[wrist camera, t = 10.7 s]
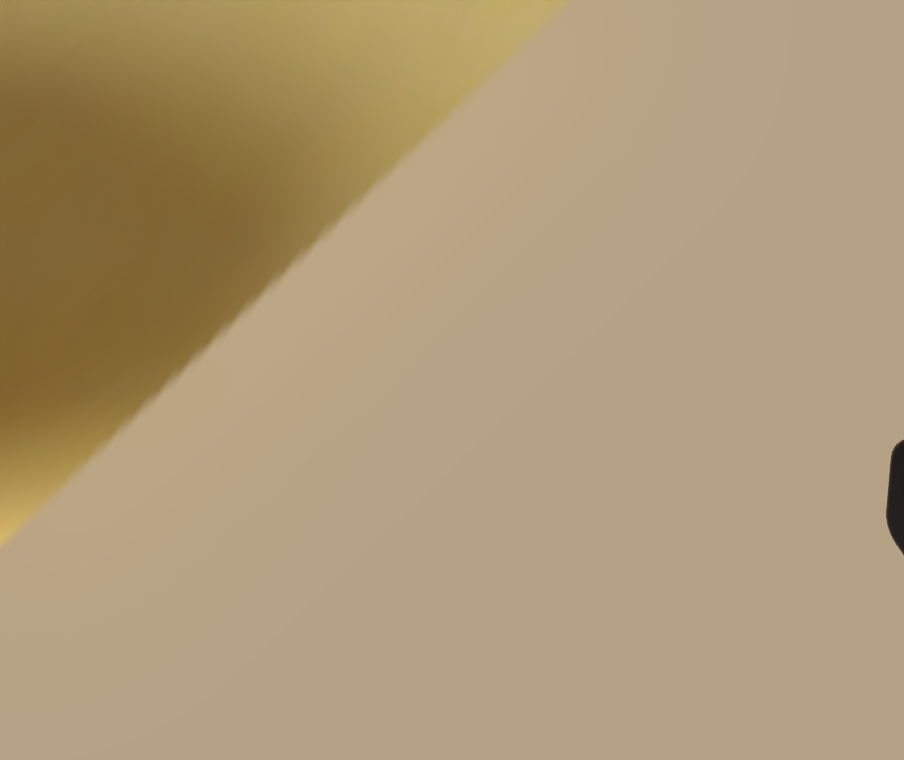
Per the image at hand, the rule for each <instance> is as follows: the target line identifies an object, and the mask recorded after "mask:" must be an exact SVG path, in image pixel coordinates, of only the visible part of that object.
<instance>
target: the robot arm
mask: <svg viewBox="0 0 904 760" xmlns="http://www.w3.org/2000/svg"><path fill="white" fill-rule="evenodd" d="M886 518H887V524H888V528H889V531H890V533H891V536H892V538H893V539H894V541H895V543H896V545H897V546H898V547H899V549H900V550H901V552H902V553H903V555H904V440H902V441H901V442H899V443H898V444H897V445H896V446H895V447H894V449H893V451H892V455H891V463H890V474H889V487H888V497H887V509H886Z"/></svg>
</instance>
